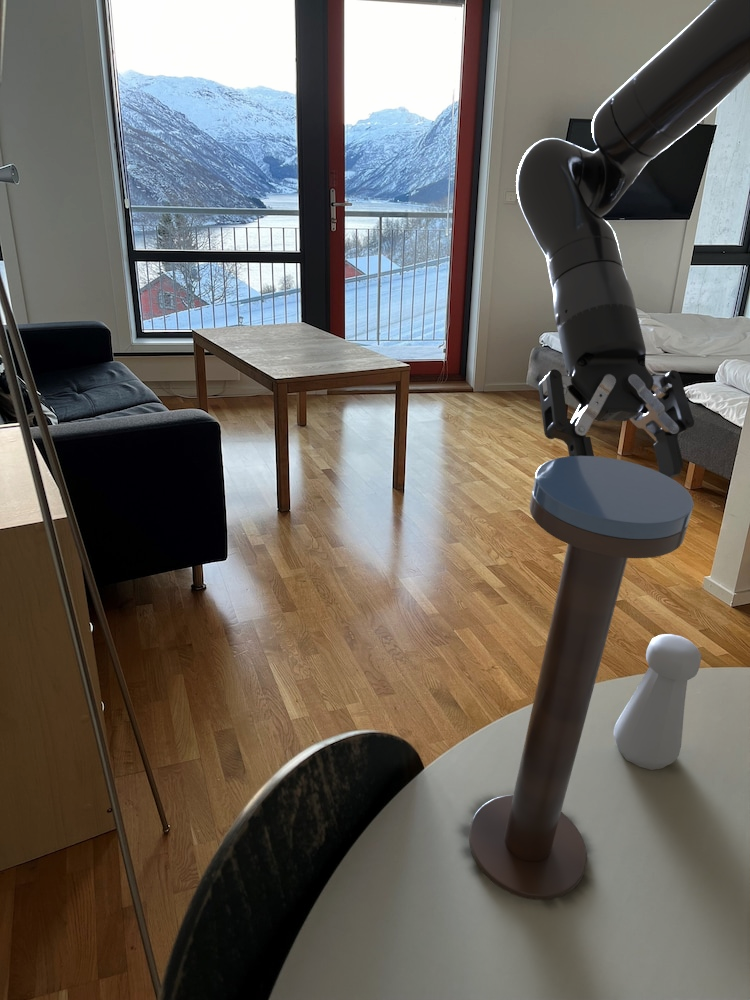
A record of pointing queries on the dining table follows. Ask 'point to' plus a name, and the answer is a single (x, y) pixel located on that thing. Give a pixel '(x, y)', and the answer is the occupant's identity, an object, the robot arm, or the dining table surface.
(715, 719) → the dining table surface
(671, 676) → the salt shaker
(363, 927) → the dining table surface
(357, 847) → the dining table surface
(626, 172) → the robot arm
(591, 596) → the stand
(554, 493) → the blue round disc
